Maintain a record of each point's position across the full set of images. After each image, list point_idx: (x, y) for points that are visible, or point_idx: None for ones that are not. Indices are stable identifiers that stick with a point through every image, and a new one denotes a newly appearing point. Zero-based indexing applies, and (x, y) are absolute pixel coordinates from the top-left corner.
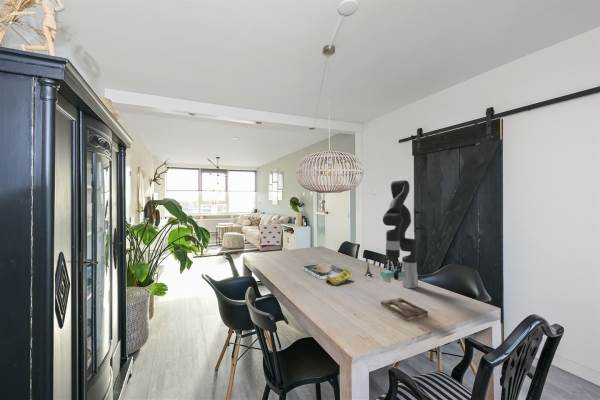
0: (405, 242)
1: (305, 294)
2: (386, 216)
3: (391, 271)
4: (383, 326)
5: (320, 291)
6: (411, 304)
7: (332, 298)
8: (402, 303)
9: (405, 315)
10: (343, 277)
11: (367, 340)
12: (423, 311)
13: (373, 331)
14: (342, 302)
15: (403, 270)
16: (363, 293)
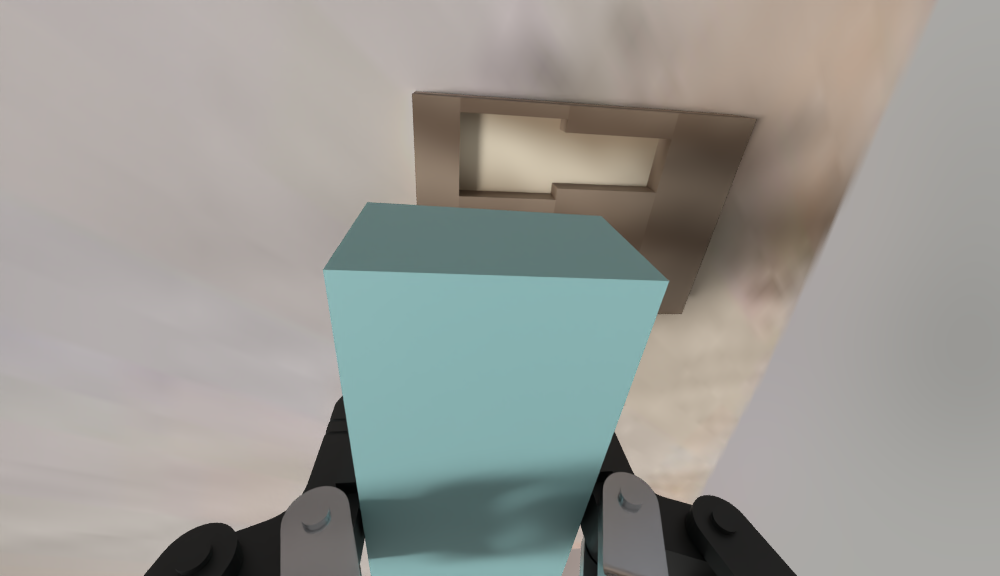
0: None
1: (131, 557)
2: None
3: (505, 556)
4: (632, 416)
5: (63, 499)
6: (591, 132)
7: (220, 478)
8: (487, 142)
9: (674, 313)
10: None
11: (662, 491)
12: (734, 158)
13: (635, 459)
14: (300, 457)
15: (596, 289)
16: (113, 276)
